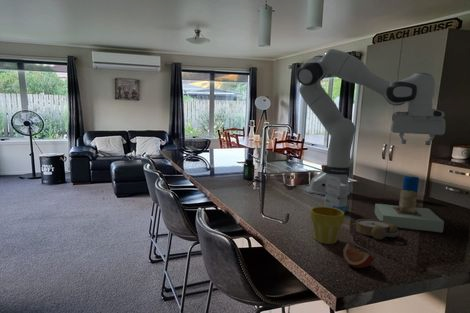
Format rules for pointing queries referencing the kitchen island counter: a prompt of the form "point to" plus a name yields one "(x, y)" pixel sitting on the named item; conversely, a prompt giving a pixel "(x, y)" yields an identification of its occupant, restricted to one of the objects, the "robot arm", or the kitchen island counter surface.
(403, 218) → the board
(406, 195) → the leg
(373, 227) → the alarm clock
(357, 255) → the fruit slice
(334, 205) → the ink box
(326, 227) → the plant pot
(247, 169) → the supplement bottle
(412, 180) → the beverage can
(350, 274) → the kitchen island counter surface
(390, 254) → the kitchen island counter surface
